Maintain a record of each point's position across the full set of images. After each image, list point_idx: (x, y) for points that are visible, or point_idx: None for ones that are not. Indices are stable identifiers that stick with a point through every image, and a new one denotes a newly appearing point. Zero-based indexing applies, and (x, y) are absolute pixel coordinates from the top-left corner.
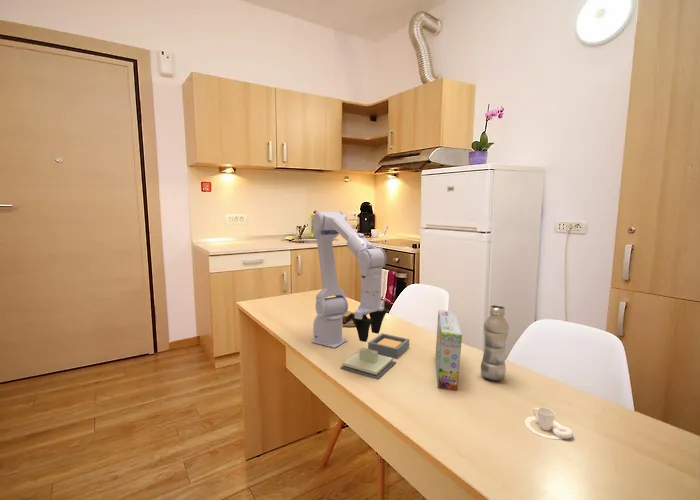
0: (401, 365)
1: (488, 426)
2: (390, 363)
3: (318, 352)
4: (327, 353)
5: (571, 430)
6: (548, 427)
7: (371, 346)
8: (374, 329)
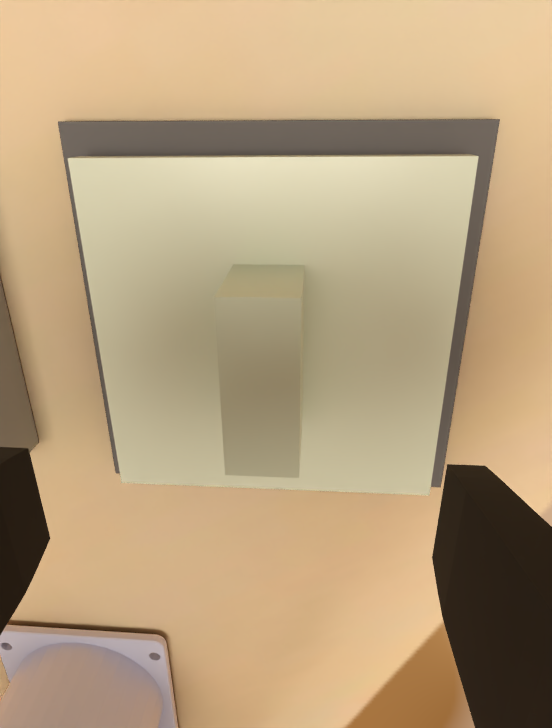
0: (68, 43)
1: None
2: None
3: (280, 677)
4: (260, 635)
5: None
6: None
7: (4, 444)
8: (8, 546)
